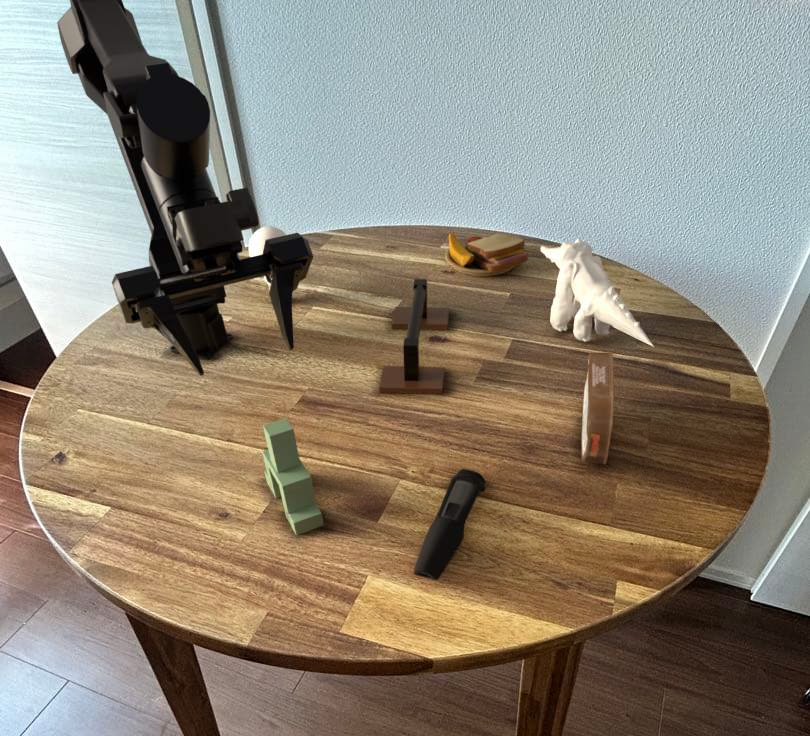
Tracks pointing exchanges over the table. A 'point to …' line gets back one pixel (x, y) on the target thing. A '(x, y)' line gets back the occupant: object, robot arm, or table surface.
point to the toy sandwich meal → (485, 254)
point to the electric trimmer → (449, 524)
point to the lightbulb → (263, 241)
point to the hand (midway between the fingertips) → (247, 361)
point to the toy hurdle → (415, 347)
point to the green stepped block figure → (290, 477)
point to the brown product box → (598, 408)
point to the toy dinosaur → (587, 295)
